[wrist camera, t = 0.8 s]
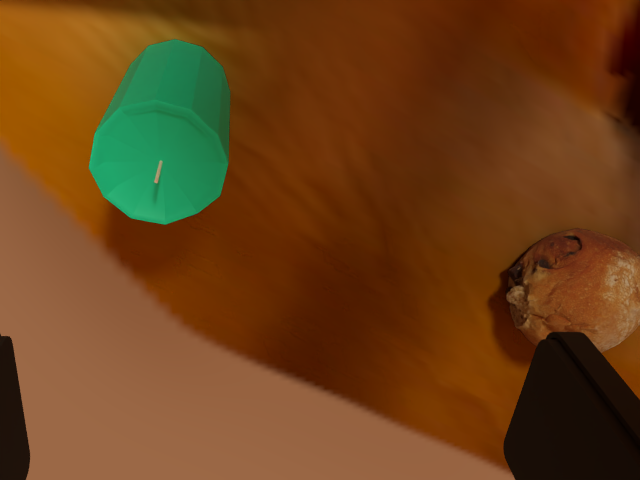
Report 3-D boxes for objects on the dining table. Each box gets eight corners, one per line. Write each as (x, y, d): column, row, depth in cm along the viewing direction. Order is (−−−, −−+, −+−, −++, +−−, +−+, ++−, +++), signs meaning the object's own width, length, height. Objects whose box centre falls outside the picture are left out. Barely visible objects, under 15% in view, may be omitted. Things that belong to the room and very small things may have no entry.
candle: (131, 139, 37) (92, 243, 27) (120, 37, 34) (70, 112, 24) (231, 139, 38) (229, 241, 28) (229, 40, 35) (226, 114, 25)
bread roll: (528, 311, 53) (594, 384, 48) (466, 299, 46) (537, 384, 41) (613, 226, 49) (694, 297, 45) (560, 198, 42) (650, 279, 37)
